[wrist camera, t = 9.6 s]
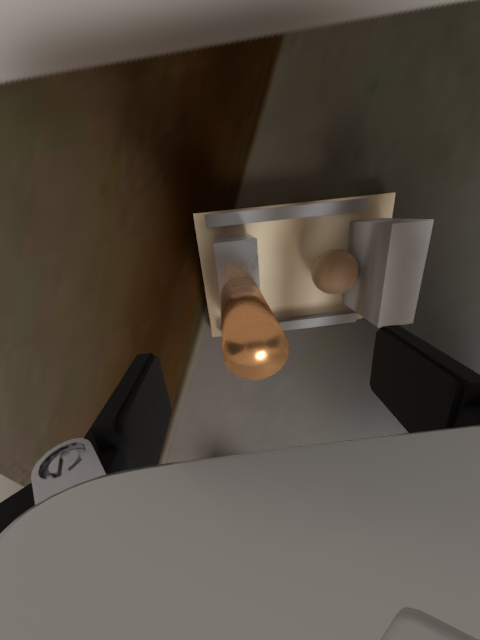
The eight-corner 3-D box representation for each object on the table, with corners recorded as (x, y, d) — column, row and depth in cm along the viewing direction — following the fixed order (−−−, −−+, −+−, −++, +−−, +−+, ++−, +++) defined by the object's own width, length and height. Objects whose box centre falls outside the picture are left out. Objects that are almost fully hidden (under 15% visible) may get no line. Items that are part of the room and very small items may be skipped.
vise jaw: (247, 232, 22) (287, 258, 10) (254, 315, 25) (290, 415, 13) (214, 236, 22) (209, 267, 9) (224, 319, 25) (232, 423, 13)
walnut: (341, 244, 24) (372, 248, 20) (338, 284, 25) (366, 295, 22) (303, 249, 23) (329, 255, 19) (303, 291, 24) (326, 303, 21)
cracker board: (385, 193, 23) (455, 185, 16) (370, 311, 28) (419, 342, 21) (194, 213, 23) (184, 213, 16) (212, 330, 27) (211, 369, 21)
